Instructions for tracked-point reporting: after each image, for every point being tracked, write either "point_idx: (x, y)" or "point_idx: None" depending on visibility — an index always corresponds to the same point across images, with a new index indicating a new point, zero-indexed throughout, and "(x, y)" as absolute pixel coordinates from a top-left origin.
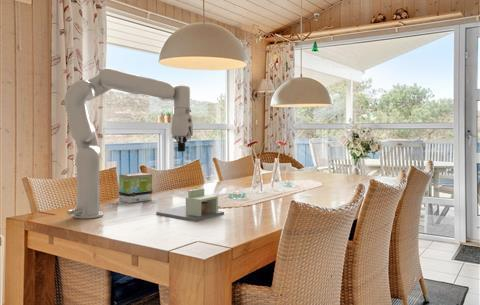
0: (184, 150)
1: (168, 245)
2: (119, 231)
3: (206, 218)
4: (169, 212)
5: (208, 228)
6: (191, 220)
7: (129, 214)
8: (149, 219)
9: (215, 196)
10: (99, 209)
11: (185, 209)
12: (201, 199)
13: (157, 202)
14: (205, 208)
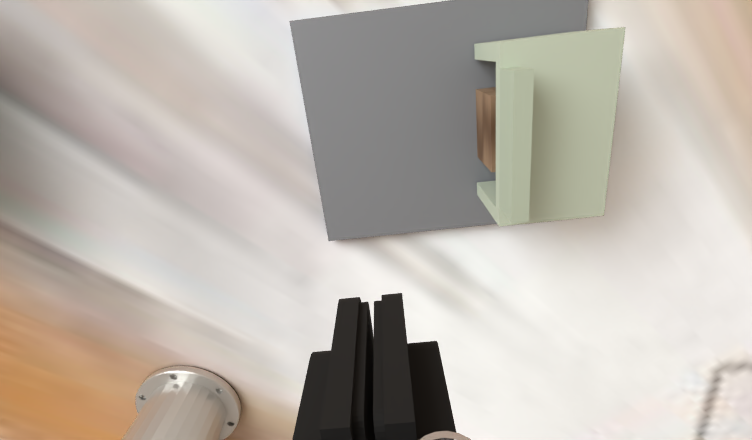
0: (402, 306)
1: (667, 433)
2: None
3: None
4: (379, 208)
5: (670, 252)
6: None
7: (254, 304)
8: None
9: (621, 59)
10: (201, 400)
11: (379, 103)
12: (604, 200)
13: (30, 21)
14: None
